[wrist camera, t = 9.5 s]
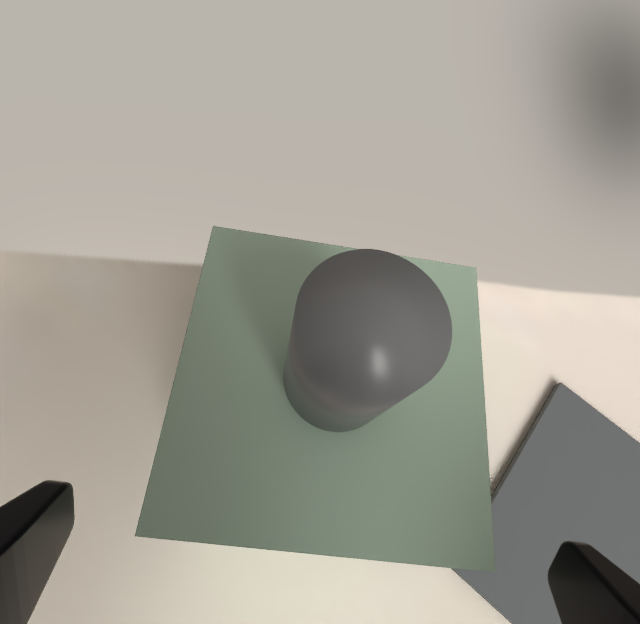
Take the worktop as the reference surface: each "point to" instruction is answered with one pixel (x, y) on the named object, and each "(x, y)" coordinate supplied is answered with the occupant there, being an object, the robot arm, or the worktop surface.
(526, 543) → the mat
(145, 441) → the worktop surface
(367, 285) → the cover
